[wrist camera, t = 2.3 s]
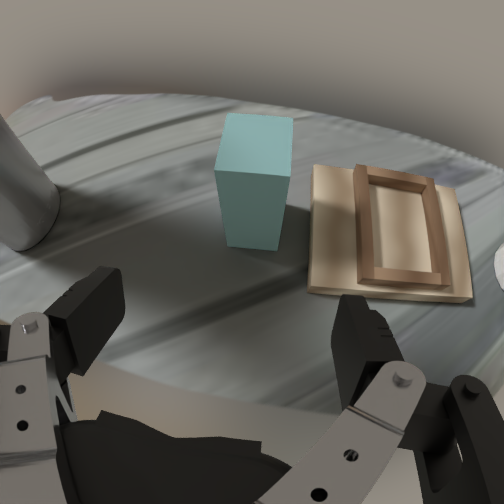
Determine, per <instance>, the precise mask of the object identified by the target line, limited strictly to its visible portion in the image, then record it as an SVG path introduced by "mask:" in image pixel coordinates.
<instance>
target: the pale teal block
mask: <svg viewBox="0 0 504 504" xmlns="http://www.w3.org/2000/svg"><path fill="white" fill-rule="evenodd" d="M292 133H293V118H287V117H277V116H266V115H253V114H236V113H227V117H226V121H225V125H224V130H223V134H222V138H221V142H220V147H219V151H218V155H217V160H216V164H215V169H214V172H215V178H216V184H217V190H218V195H219V201H220V207H221V213H222V218H223V224H224V230H225V235H226V241H227V246H230V247H240V248H250V249H260V250H270V251H277V250H278V245H279V239H280V233H281V228H282V222H283V216H284V211H285V205H286V199H287V193H288V187H289V181H290V173H291V154H292Z"/></svg>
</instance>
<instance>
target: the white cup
mask: <svg viewBox="0 0 504 504" xmlns="http://www.w3.org/2000/svg"><path fill="white" fill-rule="evenodd" d="M494 267H495V273H496V278H497V280H498V282H499V284H500V286H501V288H502V290H503V291H504V243H503V244H502V245H501V246H500V247H499V248H498V250H497V251H496V253H495V259H494Z"/></svg>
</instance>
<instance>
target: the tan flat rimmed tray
mask: <svg viewBox="0 0 504 504" xmlns="http://www.w3.org/2000/svg"><path fill="white" fill-rule="evenodd" d="M307 293H317V294H329V295H341V296H342V294H350V295H363V296H364V297H367V298H381V299H396V300H412V301H429V302H449V303H463V302H465V301H467V300H469V299H471V298H473V296H472V285H471V276H470V268H469V261H468V254H467V248H466V241H465V236H464V230H463V225H462V220H461V215H460V210H459V206H458V201H457V197H456V193H455V189H452V188H447V187H443V186H438V185H435V184H434V179H432V178H428V177H423V176H419V175H414V174H409V173H404V172H399V171H393V170H388V169H383V168H377V167H371V166H365V165H359V164H356V166H355V169H354V170H352V169H345V168H338V167H331V166H324V165H316V164H314V167H313V170H312V174H311V205H310V239H309V263H308V282H307Z"/></svg>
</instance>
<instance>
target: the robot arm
mask: <svg viewBox="0 0 504 504" xmlns="http://www.w3.org/2000/svg"><path fill="white" fill-rule="evenodd" d="M59 205H60V195H59V192H58V189H57V188H56V186H55V185H54V184H53V183H52V181H51V180H50V179H49V178H48V176H47V175H46V174H45V173H44V171H43V170H42V169H41V167H40V166H39V165H38V164H37V162H36V161H35V160H34V159H33V157H32V156H31V155H30V154H29V152H28V151H27V150H26V148H25V147H24V146H23V144H22V143H21V142H20V140H19V139H18V138H17V136H16V135H15V134H14V132H13V131H12V130H11V128H10V127H9V125H8V124H7V123H6V121H5V120H4V119H3V117H2V116H1V114H0V241H1V242H2V243H3V244H5V245H6V246H8V247H9V248H11V249H12V250H15V251H23V250H26V249H29V248H31V247H33V246H34V245H36V244H37V243H38V242H39V241H40V240H42V239H43V238H44V236H45V235H46V234H47V233H48V232H49V230H50V228H51V227H52V225H53V223H54V221H55V219H56V217H57V214H58V210H59ZM124 314H125V299H124V292H123V284H122V275H121V272H120V270H119V269H118V268H111V267H104V266H100V267H98V268H97V269H96V270H95V271H94V272H93V273H91V274H90V275H89V276H88V277H86V278H84V279H82V280H80V281H78V282H76V283H75V284H74V285H73V286H71V287H70V288H69V290H68V291H66V292H65V293H64V294H63V295H62V296H60V297H59V298H58V299H57V300H56V301H55V302H54V303H53V304H52V305H51V306H50V307H49V308H48V309H47V310H46V311H45V312H44V313H39V312H30V313H26V314H23V315H21V316H19V317H18V318H16V319H15V320H14V321H13V323H12V325H0V504H361V503H362V502H363V500H364V499H365V498H366V496H367V495H368V493H369V492H370V490H371V489H372V487H373V486H374V484H375V482H376V481H377V480H378V478H379V476H380V475H381V473H382V472H383V470H384V469H385V467H386V465H387V464H388V462H389V460H390V458H391V457H392V455H393V453H394V452H395V450H396V448H397V447H398V448H403V449H409V450H413V452H414V456H415V461H416V466H417V471H418V476H419V481H420V487H421V492H422V498H423V504H504V420H503V418H502V416H501V414H500V412H499V410H498V408H497V406H496V404H495V402H494V400H493V398H492V396H491V394H490V392H489V390H488V388H487V387H486V385H485V384H484V383H483V382H482V381H480V380H479V379H477V378H475V377H473V376H469V375H460V376H457V377H455V378H454V379H453V381H452V382H451V384H450V386H449V387H446V386H441V385H436V384H431V383H428V382H426V378H425V376H424V374H423V373H422V371H421V370H420V369H418V368H417V367H416V366H414V365H412V364H410V363H408V362H405V361H404V359H403V356H402V354H401V352H400V350H399V347H398V345H397V343H396V341H395V339H394V338H393V334H392V332H391V330H389V326H388V324H387V322H386V319H385V318H384V317H383V316H382V315H381V314H380V313H378V312H377V311H376V310H370V309H369V307H368V304H367V302H366V300H365V298H364V296H363V295H350V294H342V296H341V298H340V301H339V305H338V310H337V314H336V318H335V322H334V326H333V330H332V335H331V349H332V354H333V359H334V365H335V370H336V376H337V381H338V387H339V393H340V398H341V404H342V410H343V412H342V413H341V415H340V416H339V417H338V418H337V419H336V421H335V422H334V423H333V424H332V425H331V427H330V428H329V429H328V430H327V431H326V432H325V433H324V435H323V436H322V437H321V438H320V439H319V440H318V441H317V442H316V443H315V444H314V446H313V447H312V448H311V449H310V450H309V451H308V452H307V453H306V454H305V455H304V456H303V457H302V458H301V459H300V460H299V462H297V463H296V464H295V465H294V466H293V467H291V466H289V465H288V464H286V463H284V462H282V461H280V460H278V459H276V458H274V457H272V456H269V455H266V454H263V453H261V442H260V441H251V440H241V439H233V438H226V437H199V438H174V437H171V436H168V435H166V434H164V433H162V432H160V431H157V430H155V429H153V428H151V427H149V426H147V425H145V424H143V423H141V422H139V421H137V420H134V419H131V418H127V417H123V416H120V415H116V414H112V413H109V412H106V411H103V410H101V412H100V414H99V416H98V418H97V419H96V420H82V421H78V420H77V415H76V411H75V406H74V402H73V397H72V392H71V386H70V382H69V379H68V375H69V374H70V373H74V374H77V375H80V376H84V375H85V373H86V371H87V370H88V369H89V367H90V366H91V364H92V363H93V361H94V360H95V358H96V357H97V356H98V354H99V353H100V351H101V350H102V348H103V347H104V345H105V344H106V343H107V341H108V340H109V338H110V337H111V336H112V334H113V333H114V331H115V330H116V329H117V327H118V326H119V324H120V323H121V322H122V320H123V318H124ZM457 443H458V445H459V448H460V450H461V454H462V459H463V461H462V460H461V457H460V454H459V450H458V447H457Z"/></svg>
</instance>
